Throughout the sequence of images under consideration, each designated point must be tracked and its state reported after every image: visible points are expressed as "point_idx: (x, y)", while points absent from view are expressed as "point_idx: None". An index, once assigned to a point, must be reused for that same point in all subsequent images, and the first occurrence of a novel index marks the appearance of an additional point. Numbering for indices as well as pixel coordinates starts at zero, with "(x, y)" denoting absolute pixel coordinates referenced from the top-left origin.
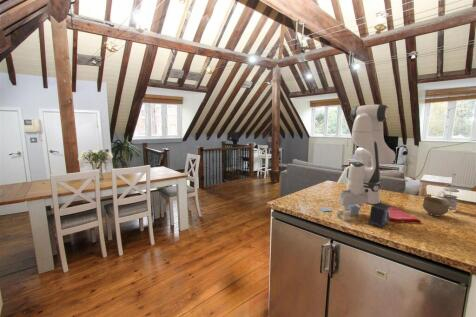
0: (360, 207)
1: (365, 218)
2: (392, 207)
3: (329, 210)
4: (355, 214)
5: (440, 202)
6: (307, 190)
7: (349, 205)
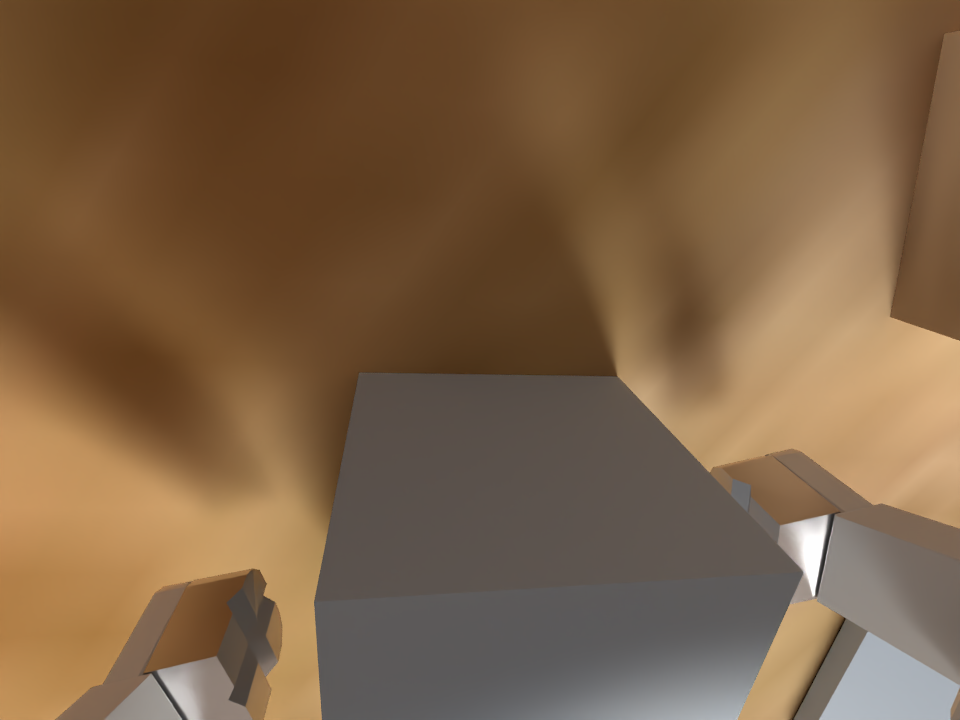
0: (95, 708)
1: (273, 47)
2: None
3: None
4: (472, 385)
5: None
6: None
7: None
